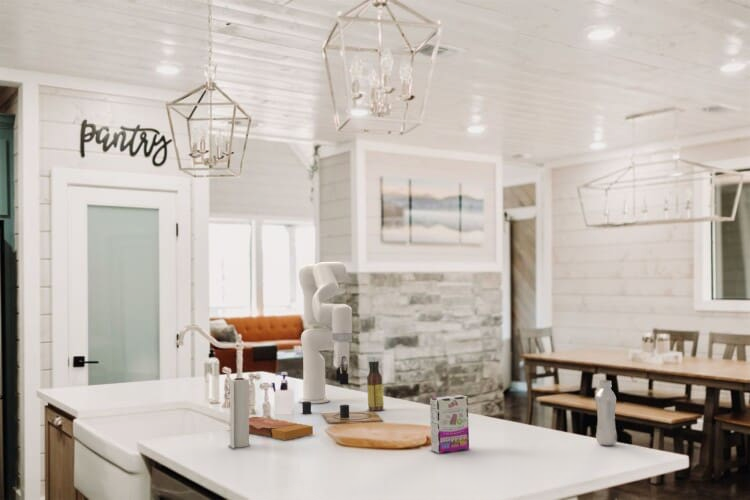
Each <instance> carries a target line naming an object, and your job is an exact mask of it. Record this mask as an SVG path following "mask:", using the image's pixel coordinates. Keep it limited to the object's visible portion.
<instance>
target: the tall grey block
mask: <svg viewBox="0 0 750 500" xmlns="http://www.w3.org/2000/svg"><path fill="white" fill-rule="evenodd" d="M249 418H250V379H249V378H246V377H236V378H231V379H229V446H230V448H233V449H235V448H246V447H249V446H250V433H249Z"/></svg>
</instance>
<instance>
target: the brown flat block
mask: <svg viewBox="0 0 750 500" xmlns="http://www.w3.org/2000/svg"><path fill="white" fill-rule="evenodd" d="M313 428H314V426H313V425H309V424H303V423H297V422H292V421H287V420H279V419H273V418H270V417H261V416H252V417H249V434H253V435H257V436H262V437H269V438H273V439H278V440H283V441H286V440H291V439H296V438H300V437H305V436H310V435H313V434H314V433H313V432H314V430H313Z"/></svg>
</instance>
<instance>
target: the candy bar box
mask: <svg viewBox="0 0 750 500" xmlns="http://www.w3.org/2000/svg"><path fill="white" fill-rule="evenodd" d="M468 402H469V401H468V396H467V395H462V394H455V395H454V394H453V395H445V396H435V397H429V409H430V441H431V442H430V443H431V444H430V445H431V452H433V453H437V454H440V455H441V454H448V453H455V452H461V451H468V450H470V433H469V432H470V431H469V430H470V429H469V403H468Z"/></svg>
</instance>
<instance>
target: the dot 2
mask: <svg viewBox="0 0 750 500" xmlns="http://www.w3.org/2000/svg"><path fill="white" fill-rule="evenodd" d="M339 412H340V418H349V412H350V405H349V404H340V405H339Z"/></svg>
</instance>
